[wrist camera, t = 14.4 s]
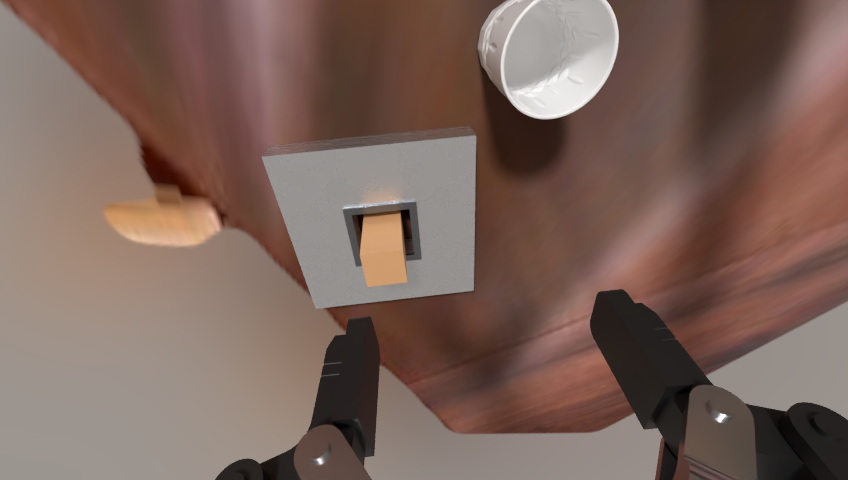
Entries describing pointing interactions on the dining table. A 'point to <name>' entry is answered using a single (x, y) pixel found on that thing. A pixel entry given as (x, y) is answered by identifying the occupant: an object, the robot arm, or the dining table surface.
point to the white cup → (549, 53)
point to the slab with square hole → (379, 209)
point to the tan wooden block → (383, 249)
